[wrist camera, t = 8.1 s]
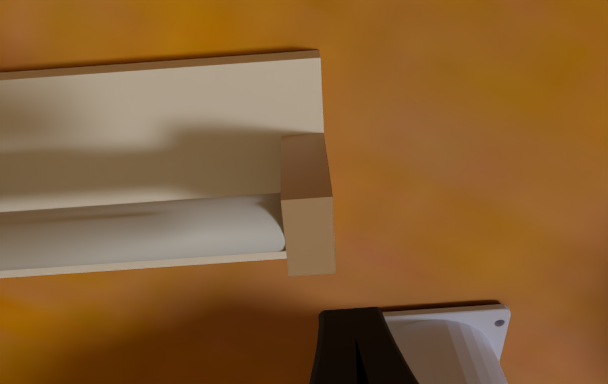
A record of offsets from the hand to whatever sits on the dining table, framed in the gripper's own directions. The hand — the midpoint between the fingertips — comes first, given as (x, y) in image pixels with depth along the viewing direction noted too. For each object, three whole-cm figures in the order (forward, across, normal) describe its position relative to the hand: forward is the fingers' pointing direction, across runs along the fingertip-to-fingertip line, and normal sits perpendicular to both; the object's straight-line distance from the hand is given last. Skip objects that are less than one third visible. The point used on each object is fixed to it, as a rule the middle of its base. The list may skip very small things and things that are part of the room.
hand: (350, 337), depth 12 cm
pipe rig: (+10, +11, +1) cm, 15 cm away
